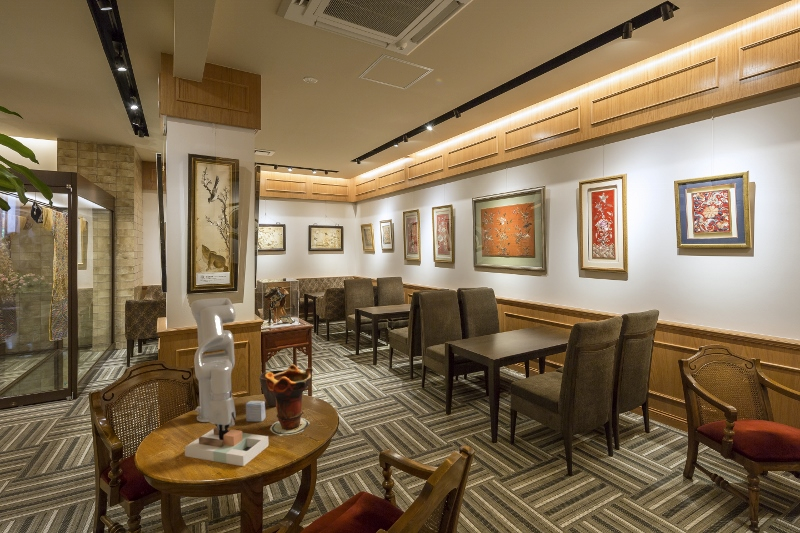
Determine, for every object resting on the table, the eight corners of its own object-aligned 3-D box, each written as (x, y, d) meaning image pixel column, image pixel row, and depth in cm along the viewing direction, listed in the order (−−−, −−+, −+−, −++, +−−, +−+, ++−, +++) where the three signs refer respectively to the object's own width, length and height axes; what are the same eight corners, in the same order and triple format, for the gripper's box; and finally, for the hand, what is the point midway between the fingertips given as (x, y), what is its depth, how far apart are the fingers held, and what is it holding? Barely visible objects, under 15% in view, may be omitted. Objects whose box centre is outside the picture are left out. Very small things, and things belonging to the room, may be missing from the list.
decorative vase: (322, 416, 193) (319, 361, 190) (297, 441, 171) (293, 379, 168) (285, 412, 199) (282, 358, 196) (257, 435, 177) (252, 376, 174)
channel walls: (199, 443, 161) (198, 437, 161) (215, 433, 170) (215, 427, 170) (221, 447, 158) (221, 441, 158) (237, 436, 167) (236, 430, 167)
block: (223, 444, 160) (223, 435, 160) (232, 438, 165) (231, 429, 165) (234, 446, 159) (233, 436, 158) (242, 440, 163) (242, 430, 163)
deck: (185, 456, 159) (184, 446, 159) (214, 437, 175) (213, 428, 174) (243, 466, 151) (243, 456, 151) (268, 445, 167) (268, 436, 166)
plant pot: (268, 397, 219) (267, 369, 218) (294, 399, 217) (293, 370, 216) (255, 409, 204) (254, 379, 203) (282, 410, 202) (281, 379, 201)
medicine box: (265, 418, 194) (265, 400, 193) (261, 422, 189) (261, 404, 189) (250, 417, 194) (249, 400, 194) (246, 421, 190) (245, 404, 189)
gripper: (200, 397, 161) (202, 440, 162) (230, 400, 156) (232, 445, 157) (213, 390, 168) (215, 432, 169) (243, 393, 163) (244, 436, 165)
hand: (223, 438), depth 163 cm, fingers closed
